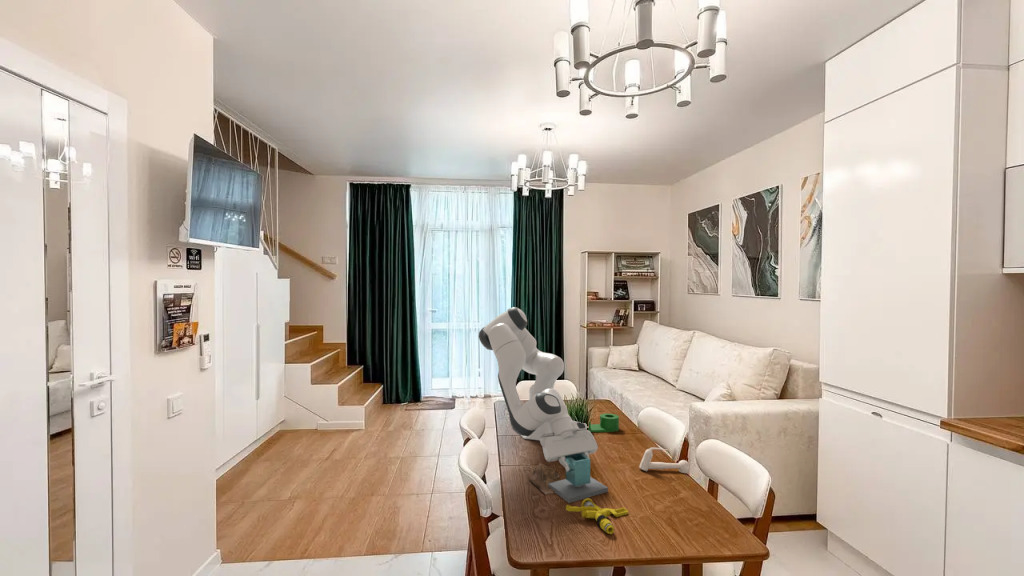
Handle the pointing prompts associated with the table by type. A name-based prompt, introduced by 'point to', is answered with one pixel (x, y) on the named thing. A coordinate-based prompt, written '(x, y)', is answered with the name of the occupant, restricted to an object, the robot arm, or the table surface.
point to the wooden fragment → (544, 478)
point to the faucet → (661, 463)
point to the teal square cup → (578, 469)
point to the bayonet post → (577, 489)
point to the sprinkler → (598, 514)
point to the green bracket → (605, 424)
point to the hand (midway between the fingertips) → (578, 468)
